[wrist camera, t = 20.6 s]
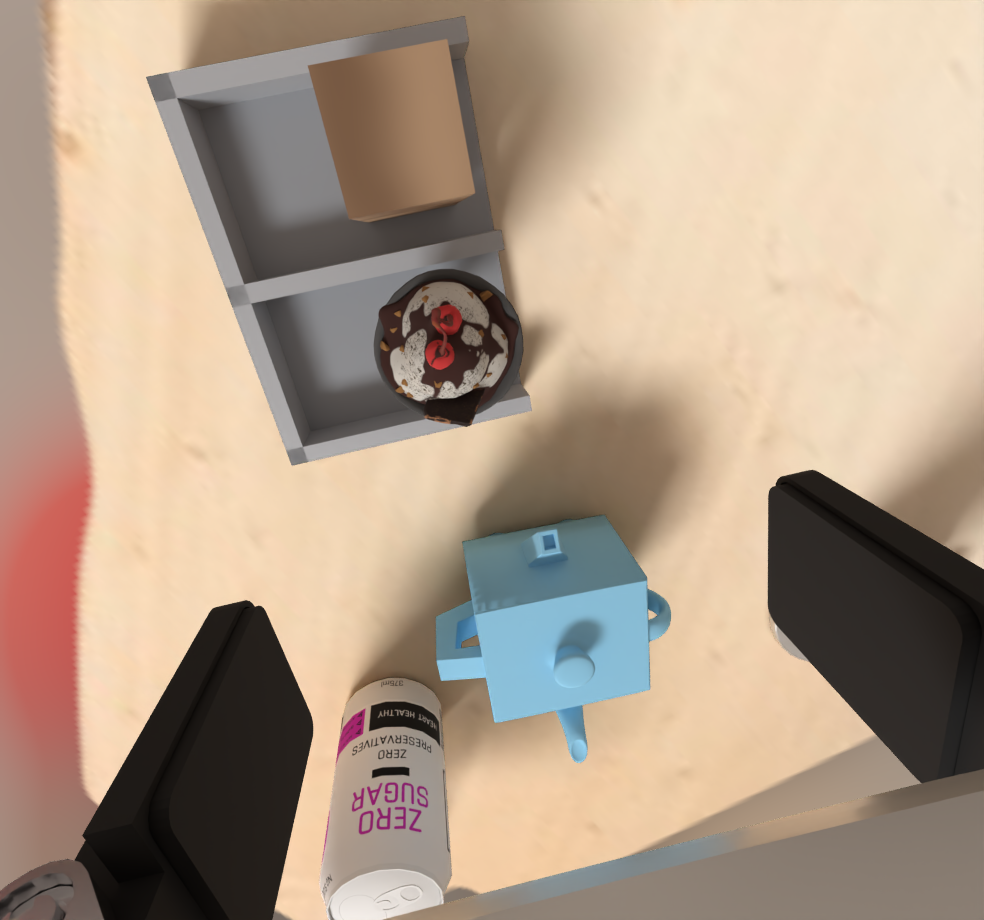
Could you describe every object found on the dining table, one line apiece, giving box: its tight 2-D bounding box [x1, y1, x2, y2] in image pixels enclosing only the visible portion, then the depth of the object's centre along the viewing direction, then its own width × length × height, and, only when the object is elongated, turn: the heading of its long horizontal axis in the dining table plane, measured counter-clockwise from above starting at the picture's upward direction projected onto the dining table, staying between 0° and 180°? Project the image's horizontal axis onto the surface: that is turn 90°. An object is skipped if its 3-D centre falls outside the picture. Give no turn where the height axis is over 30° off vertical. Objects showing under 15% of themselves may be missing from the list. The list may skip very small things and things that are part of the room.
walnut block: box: [308, 39, 475, 222], centre depth 25 cm, size 5×5×11 cm
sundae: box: [373, 269, 523, 427], centre depth 27 cm, size 7×7×15 cm
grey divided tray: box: [146, 16, 532, 465], centre depth 31 cm, size 15×20×4 cm
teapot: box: [436, 515, 671, 763], centre depth 38 cm, size 16×18×11 cm
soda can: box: [319, 678, 452, 920], centre depth 40 cm, size 8×8×15 cm
